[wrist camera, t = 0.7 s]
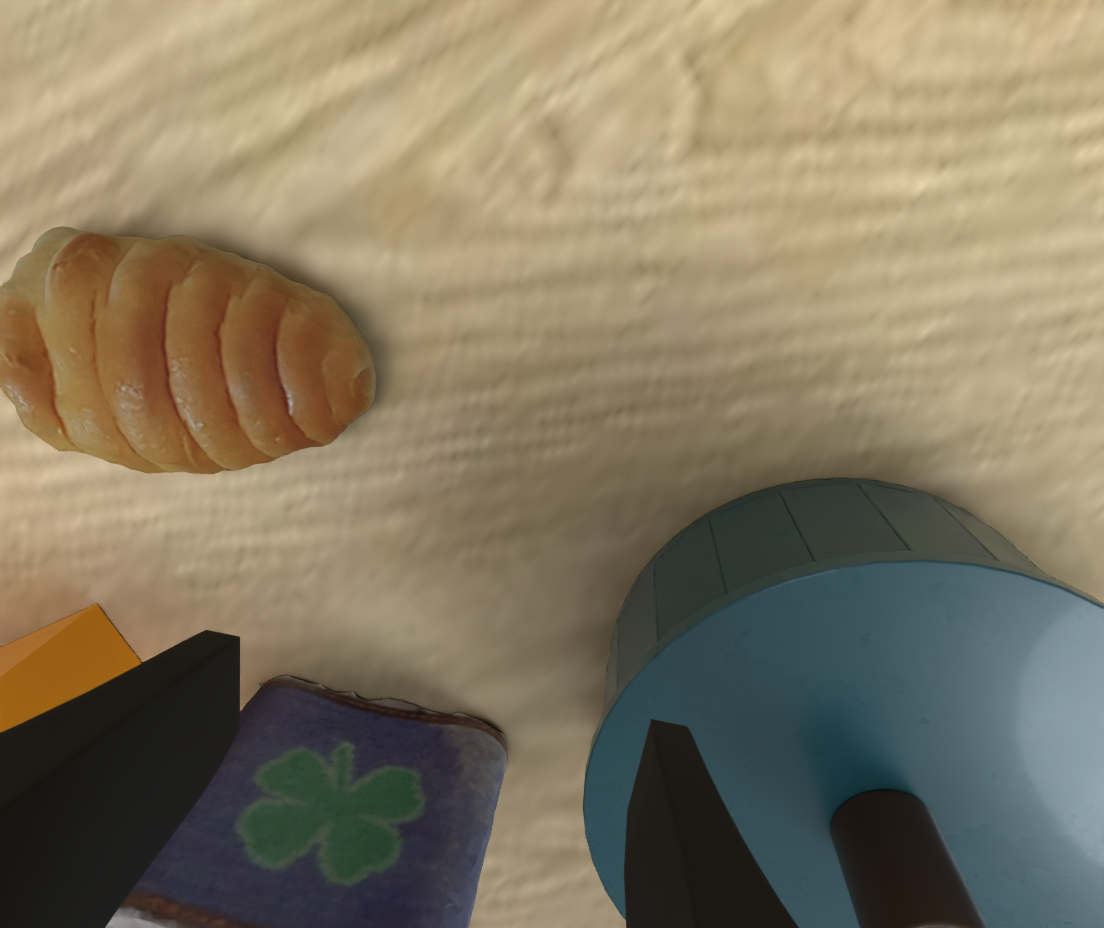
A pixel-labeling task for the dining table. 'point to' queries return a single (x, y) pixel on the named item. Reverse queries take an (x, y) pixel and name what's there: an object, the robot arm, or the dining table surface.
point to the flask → (331, 820)
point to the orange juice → (60, 664)
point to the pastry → (175, 354)
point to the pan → (787, 549)
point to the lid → (886, 740)
